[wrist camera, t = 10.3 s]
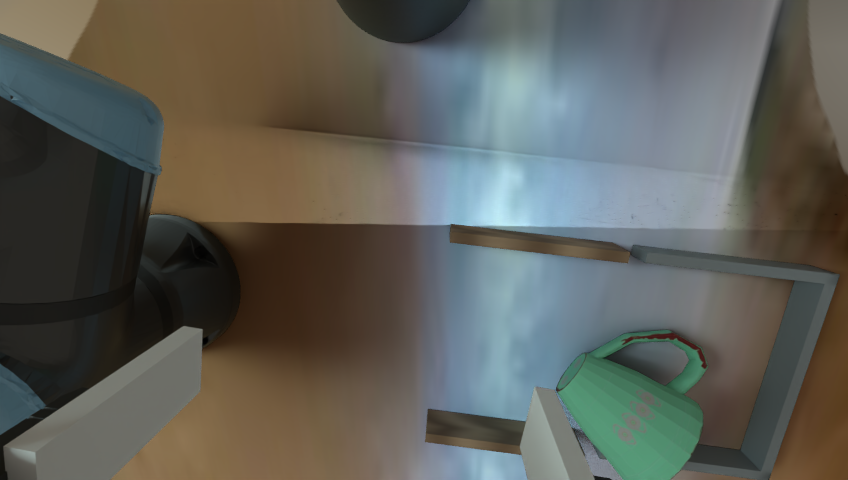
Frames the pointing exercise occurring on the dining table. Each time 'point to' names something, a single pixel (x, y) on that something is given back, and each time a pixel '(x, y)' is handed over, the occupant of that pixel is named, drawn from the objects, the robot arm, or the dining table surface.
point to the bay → (488, 429)
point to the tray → (783, 364)
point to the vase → (403, 17)
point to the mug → (636, 408)
